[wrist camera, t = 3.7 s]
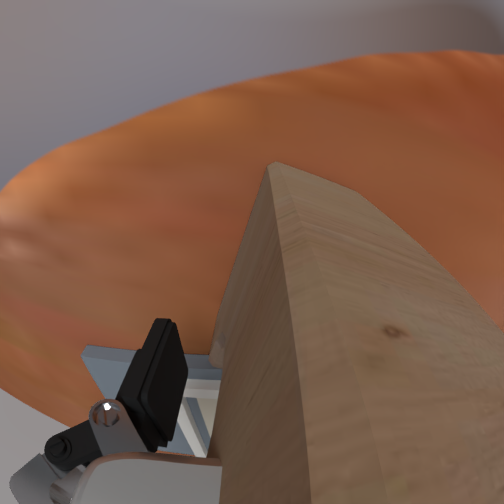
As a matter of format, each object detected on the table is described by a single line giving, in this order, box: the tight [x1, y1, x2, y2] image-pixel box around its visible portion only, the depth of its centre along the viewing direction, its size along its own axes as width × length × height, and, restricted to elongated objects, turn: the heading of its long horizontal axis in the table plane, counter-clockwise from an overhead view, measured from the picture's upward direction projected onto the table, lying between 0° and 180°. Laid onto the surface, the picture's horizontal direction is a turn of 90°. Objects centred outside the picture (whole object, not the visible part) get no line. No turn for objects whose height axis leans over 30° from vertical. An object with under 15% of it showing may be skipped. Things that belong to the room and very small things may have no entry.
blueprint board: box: [81, 345, 222, 458], centre depth 23 cm, size 24×17×2 cm
